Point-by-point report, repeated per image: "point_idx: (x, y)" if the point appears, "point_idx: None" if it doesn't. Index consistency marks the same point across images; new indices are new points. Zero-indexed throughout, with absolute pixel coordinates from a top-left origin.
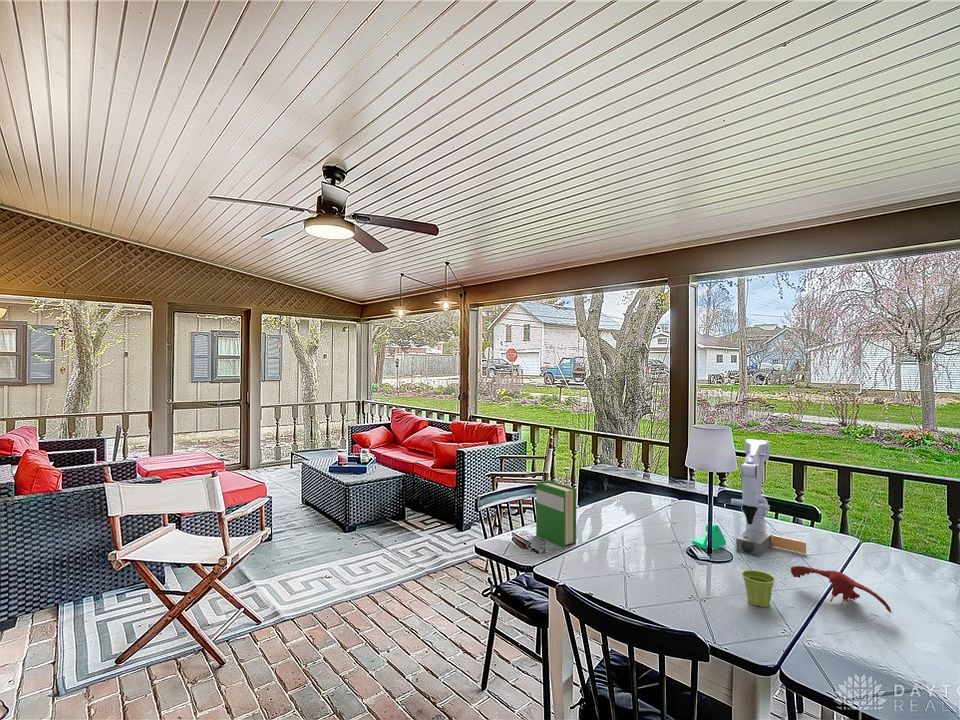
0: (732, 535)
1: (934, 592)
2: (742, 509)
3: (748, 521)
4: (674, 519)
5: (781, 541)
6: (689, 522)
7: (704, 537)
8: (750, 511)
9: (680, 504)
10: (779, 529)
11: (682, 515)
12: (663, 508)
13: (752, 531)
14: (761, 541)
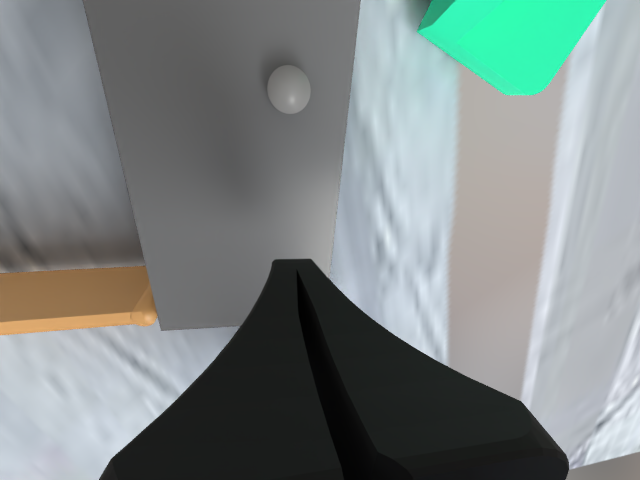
0: (392, 293)
1: None
2: (507, 396)
3: (305, 270)
4: (624, 312)
5: (84, 296)
6: (568, 321)
7: (591, 8)
8: (267, 413)
9: (564, 448)
10: None
11: (580, 372)
12: (632, 388)
13: None
14: (110, 53)
